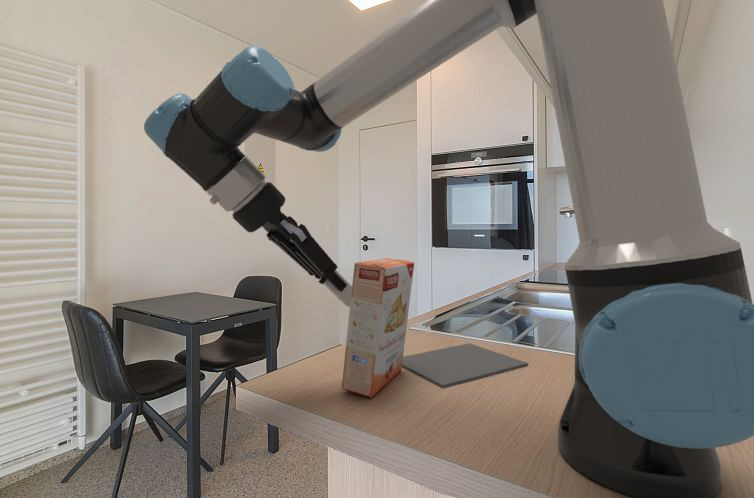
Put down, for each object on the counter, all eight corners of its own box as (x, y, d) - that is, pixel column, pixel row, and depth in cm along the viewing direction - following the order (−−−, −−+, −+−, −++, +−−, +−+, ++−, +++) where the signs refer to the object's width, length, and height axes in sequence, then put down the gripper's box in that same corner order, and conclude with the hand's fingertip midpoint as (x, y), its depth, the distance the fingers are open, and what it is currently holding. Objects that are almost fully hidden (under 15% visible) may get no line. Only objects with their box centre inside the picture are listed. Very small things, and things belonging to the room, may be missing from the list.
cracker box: (373, 400, 61) (387, 267, 59) (339, 390, 63) (351, 261, 61) (404, 371, 74) (415, 260, 72) (375, 363, 76) (385, 256, 74)
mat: (528, 365, 76) (528, 363, 76) (442, 388, 65) (442, 385, 65) (469, 345, 90) (469, 343, 90) (391, 361, 79) (391, 358, 79)
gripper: (222, 216, 61) (323, 311, 70) (239, 212, 50) (357, 325, 59) (256, 184, 64) (349, 279, 73) (279, 173, 53) (386, 287, 62)
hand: (352, 300), depth 66 cm, fingers closed
